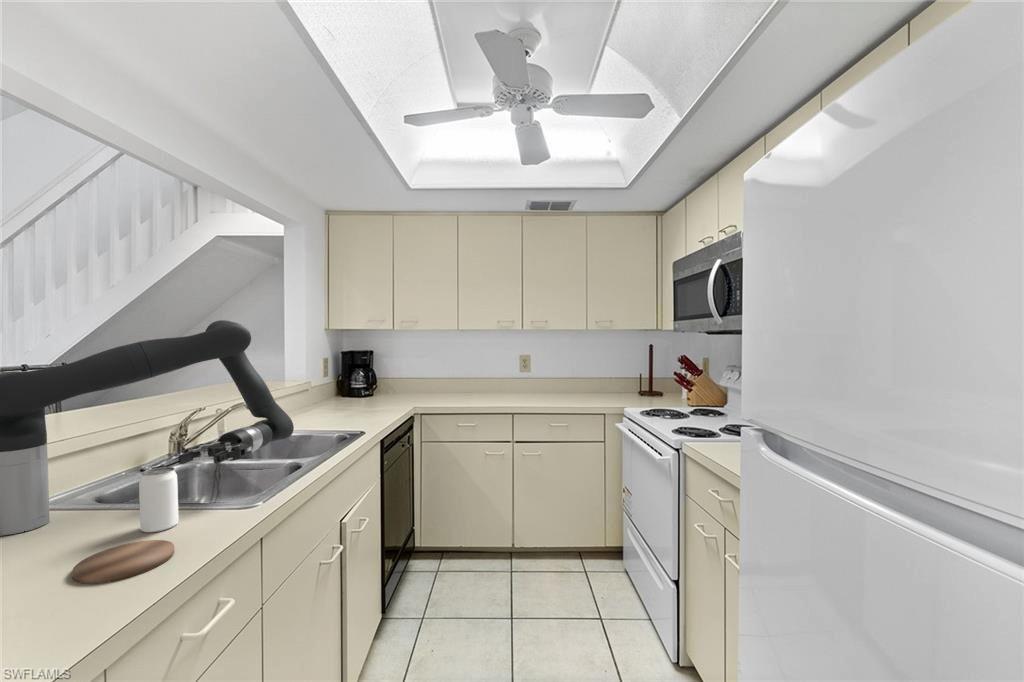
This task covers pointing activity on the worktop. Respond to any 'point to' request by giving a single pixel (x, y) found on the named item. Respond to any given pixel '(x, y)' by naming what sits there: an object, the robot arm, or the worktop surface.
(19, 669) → the worktop surface
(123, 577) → the disc
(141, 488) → the can
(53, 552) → the worktop surface
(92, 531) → the worktop surface
